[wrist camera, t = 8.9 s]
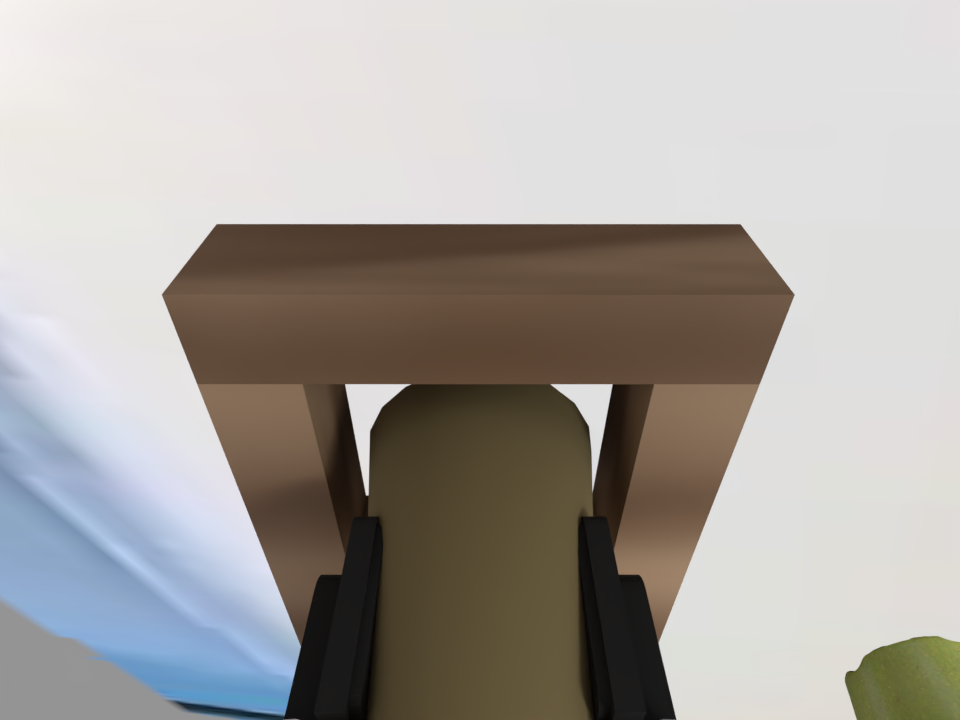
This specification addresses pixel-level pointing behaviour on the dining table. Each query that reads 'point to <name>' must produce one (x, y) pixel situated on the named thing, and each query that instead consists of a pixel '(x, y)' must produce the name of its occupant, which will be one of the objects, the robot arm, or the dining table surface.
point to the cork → (480, 554)
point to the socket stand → (478, 363)
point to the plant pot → (908, 681)
